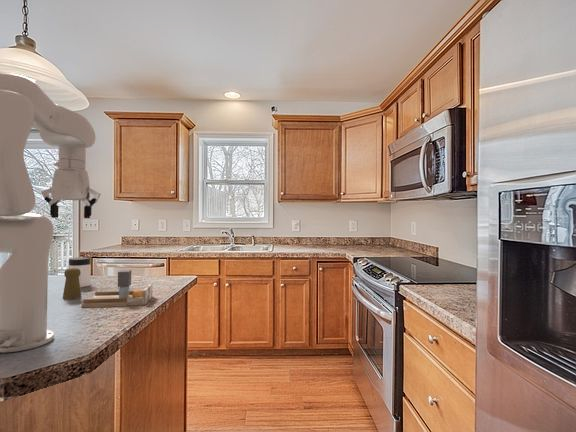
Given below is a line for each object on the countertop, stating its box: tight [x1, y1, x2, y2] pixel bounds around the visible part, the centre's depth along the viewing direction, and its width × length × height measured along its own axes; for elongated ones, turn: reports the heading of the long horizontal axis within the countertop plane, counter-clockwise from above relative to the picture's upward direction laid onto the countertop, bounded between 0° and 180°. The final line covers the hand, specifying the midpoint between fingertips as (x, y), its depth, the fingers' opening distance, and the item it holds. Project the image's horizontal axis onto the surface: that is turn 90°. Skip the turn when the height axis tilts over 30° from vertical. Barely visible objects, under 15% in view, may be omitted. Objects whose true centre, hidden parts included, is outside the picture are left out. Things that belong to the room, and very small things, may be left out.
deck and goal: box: [81, 283, 153, 308], centre depth 122 cm, size 14×20×5 cm
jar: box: [67, 256, 92, 288], centre depth 146 cm, size 9×8×12 cm
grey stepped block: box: [117, 269, 132, 298], centre depth 122 cm, size 7×4×9 cm, turn 11°
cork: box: [62, 268, 82, 300], centre depth 126 cm, size 6×6×11 cm
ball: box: [132, 289, 143, 298], centre depth 123 cm, size 4×4×4 cm
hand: (71, 217), depth 110 cm, fingers open, 9 cm apart
